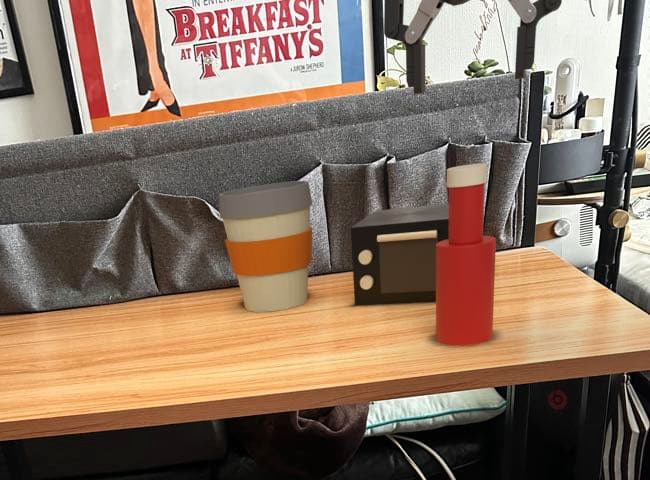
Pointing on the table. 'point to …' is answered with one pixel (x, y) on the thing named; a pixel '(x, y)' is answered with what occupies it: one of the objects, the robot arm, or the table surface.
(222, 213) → the reusable coffee cup
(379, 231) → the toaster oven
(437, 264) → the ketchup bottle
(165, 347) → the table surface
